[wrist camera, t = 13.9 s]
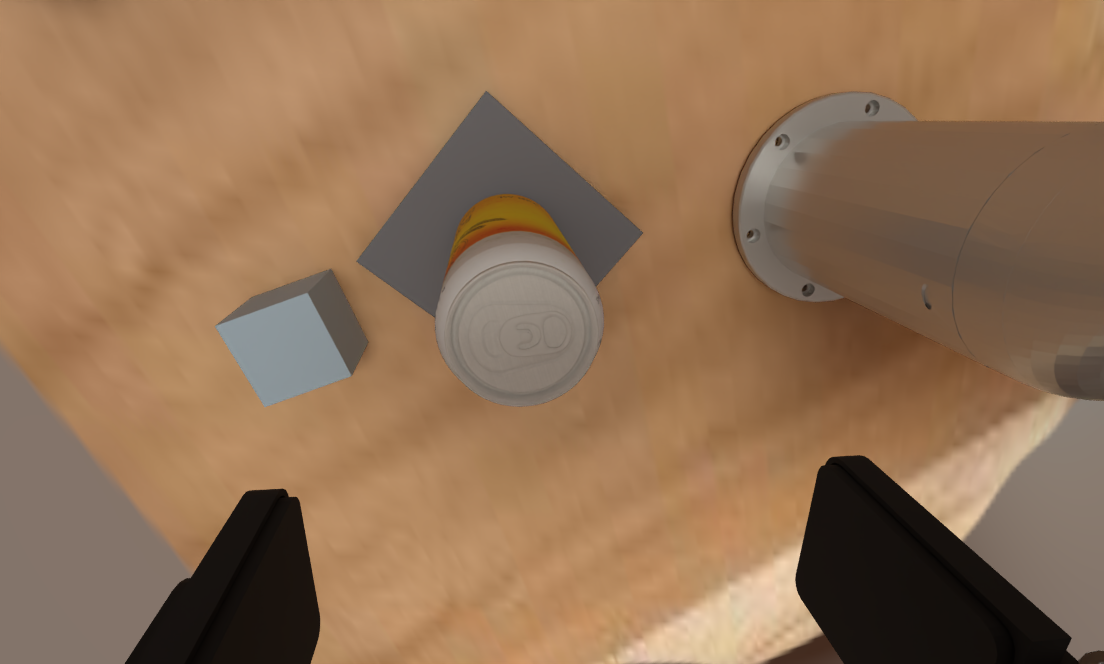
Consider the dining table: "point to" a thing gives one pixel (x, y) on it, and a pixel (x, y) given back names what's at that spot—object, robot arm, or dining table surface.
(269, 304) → the letter block
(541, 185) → the coaster
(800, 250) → the robot arm
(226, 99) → the dining table surface
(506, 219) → the beer can
